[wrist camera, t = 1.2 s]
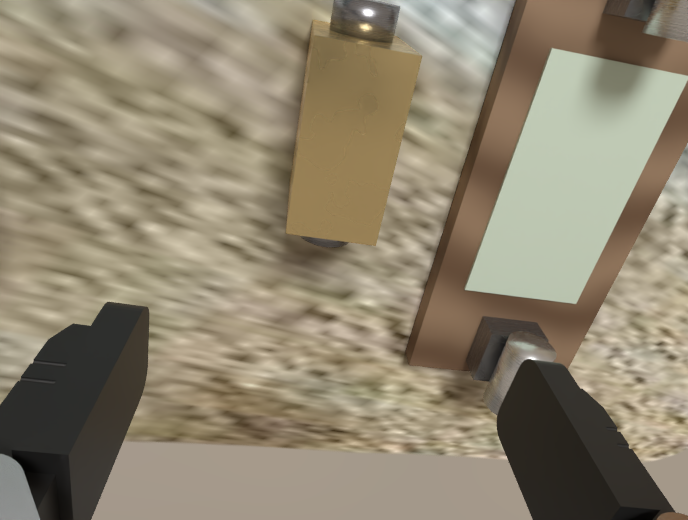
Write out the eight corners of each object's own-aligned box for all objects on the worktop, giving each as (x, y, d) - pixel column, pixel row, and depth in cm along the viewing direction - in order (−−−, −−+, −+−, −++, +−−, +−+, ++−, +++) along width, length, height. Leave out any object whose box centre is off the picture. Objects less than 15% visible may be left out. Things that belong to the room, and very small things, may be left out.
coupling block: (317, -13, 25) (320, -7, 19) (403, 5, 26) (431, 16, 20) (286, 203, 31) (281, 260, 25) (357, 213, 32) (369, 271, 26)
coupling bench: (554, -123, 24) (631, -152, 18) (774, -67, 25) (906, -76, 20) (405, 351, 38) (422, 418, 32) (553, 367, 39) (593, 433, 34)
